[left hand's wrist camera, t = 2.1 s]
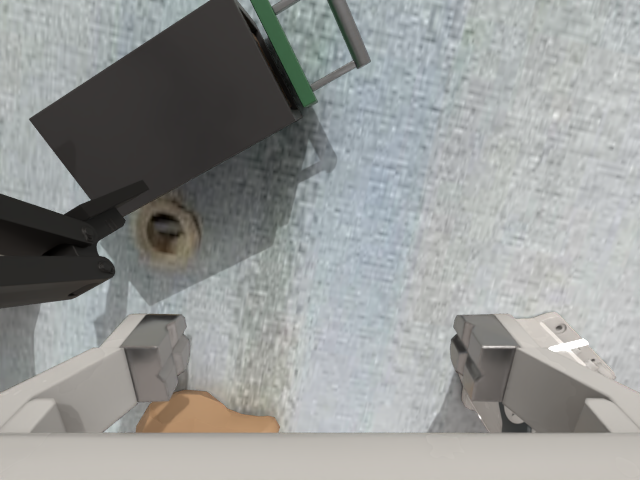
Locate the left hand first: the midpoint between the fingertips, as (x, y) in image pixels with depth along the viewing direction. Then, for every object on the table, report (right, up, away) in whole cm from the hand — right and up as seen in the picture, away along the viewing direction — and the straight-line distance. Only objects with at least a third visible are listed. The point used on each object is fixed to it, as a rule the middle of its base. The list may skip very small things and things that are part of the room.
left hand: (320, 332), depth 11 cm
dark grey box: (-13, +16, +28) cm, 35 cm away
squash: (-16, -23, +43) cm, 52 cm away
